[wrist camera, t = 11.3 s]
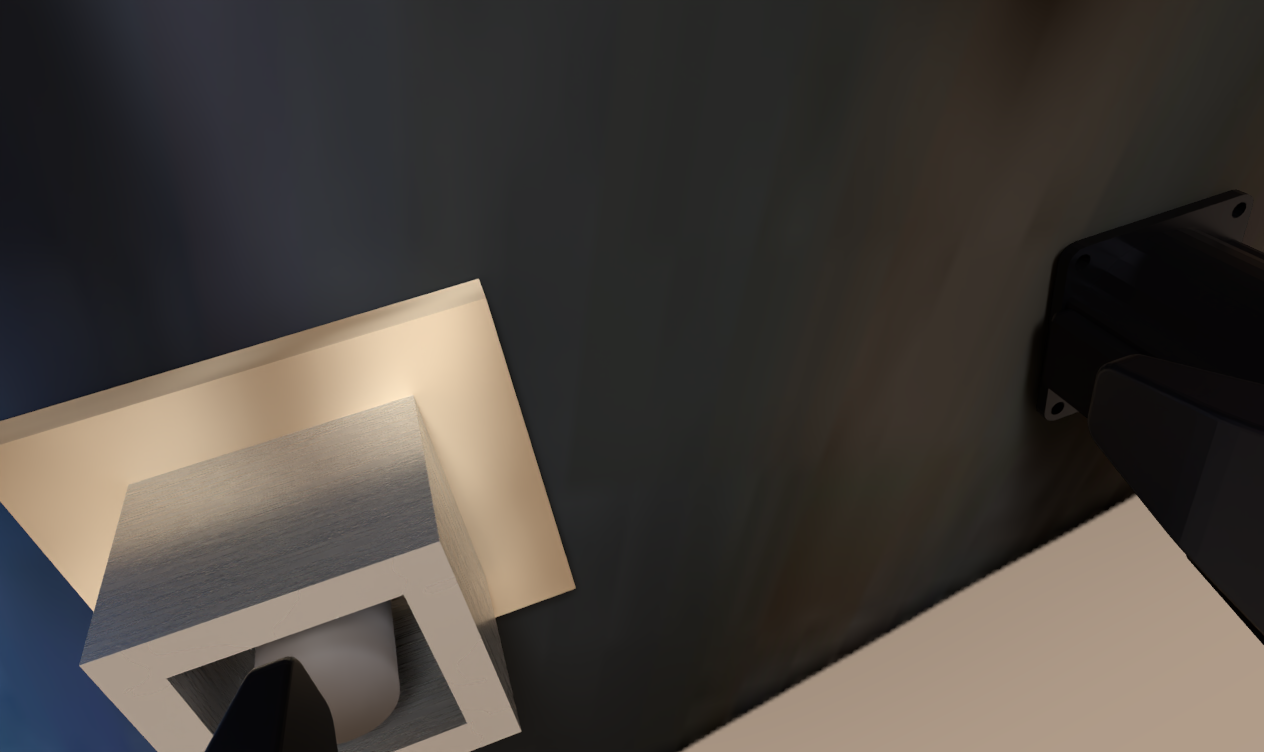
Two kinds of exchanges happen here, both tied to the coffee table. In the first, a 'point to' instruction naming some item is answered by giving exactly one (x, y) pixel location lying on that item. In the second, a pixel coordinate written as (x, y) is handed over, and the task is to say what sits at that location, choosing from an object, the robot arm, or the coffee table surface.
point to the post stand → (286, 403)
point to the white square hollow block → (300, 583)
